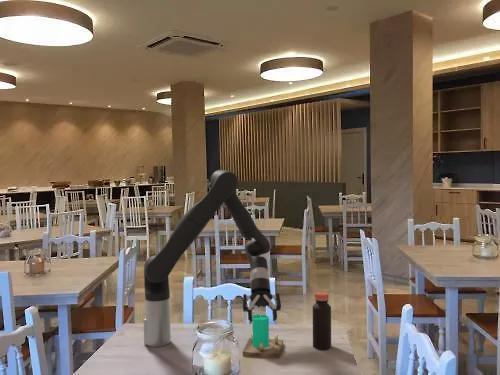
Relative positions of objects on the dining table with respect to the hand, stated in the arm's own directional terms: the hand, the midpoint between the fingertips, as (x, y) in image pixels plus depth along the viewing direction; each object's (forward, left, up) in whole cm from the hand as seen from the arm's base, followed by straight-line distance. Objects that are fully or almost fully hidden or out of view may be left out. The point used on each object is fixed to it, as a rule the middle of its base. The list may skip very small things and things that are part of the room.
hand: (262, 320), depth 165 cm
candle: (-1, 0, -9) cm, 9 cm away
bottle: (+21, +6, -11) cm, 24 cm away
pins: (0, -2, -9) cm, 9 cm away
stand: (0, 0, -11) cm, 11 cm away
